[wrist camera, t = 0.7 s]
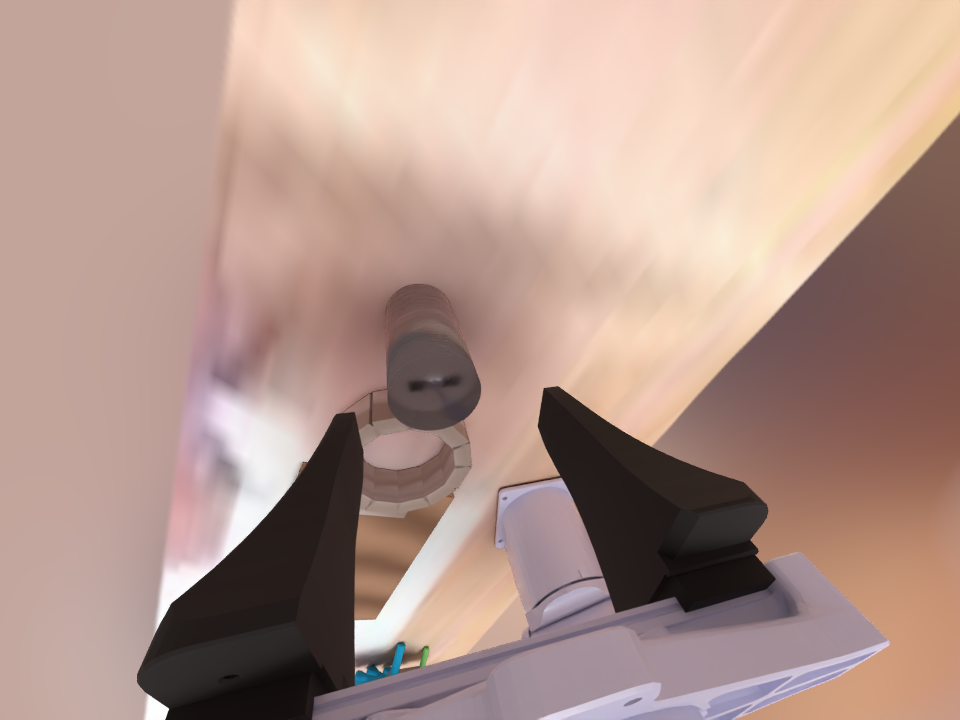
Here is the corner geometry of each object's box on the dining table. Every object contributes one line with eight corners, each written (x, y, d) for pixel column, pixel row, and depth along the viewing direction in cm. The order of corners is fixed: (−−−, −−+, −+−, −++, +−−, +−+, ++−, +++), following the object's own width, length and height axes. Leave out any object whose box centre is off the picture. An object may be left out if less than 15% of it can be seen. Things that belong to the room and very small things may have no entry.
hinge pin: (452, 340, 23) (480, 423, 17) (389, 346, 22) (392, 436, 16) (450, 282, 21) (482, 351, 14) (381, 286, 20) (381, 361, 14)
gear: (331, 685, 44) (371, 741, 37) (349, 629, 46) (390, 672, 39) (403, 672, 51) (448, 717, 43) (416, 624, 53) (461, 660, 45)
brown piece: (375, 603, 39) (375, 635, 36) (250, 606, 34) (240, 643, 31) (497, 408, 27) (509, 436, 25) (337, 367, 22) (332, 396, 20)
